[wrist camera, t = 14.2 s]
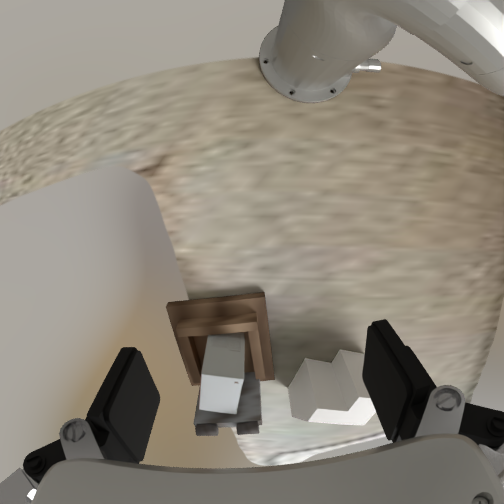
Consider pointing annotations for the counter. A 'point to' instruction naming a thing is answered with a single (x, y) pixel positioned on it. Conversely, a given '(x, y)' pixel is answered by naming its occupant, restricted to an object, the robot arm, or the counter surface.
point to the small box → (222, 373)
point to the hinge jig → (255, 352)
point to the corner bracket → (331, 391)
